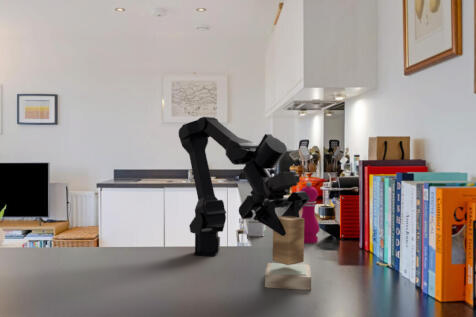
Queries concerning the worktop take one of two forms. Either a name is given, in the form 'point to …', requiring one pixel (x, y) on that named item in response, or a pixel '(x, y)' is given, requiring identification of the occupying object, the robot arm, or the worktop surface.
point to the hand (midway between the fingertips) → (292, 233)
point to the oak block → (289, 241)
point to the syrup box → (255, 227)
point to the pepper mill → (310, 215)
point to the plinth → (288, 276)
